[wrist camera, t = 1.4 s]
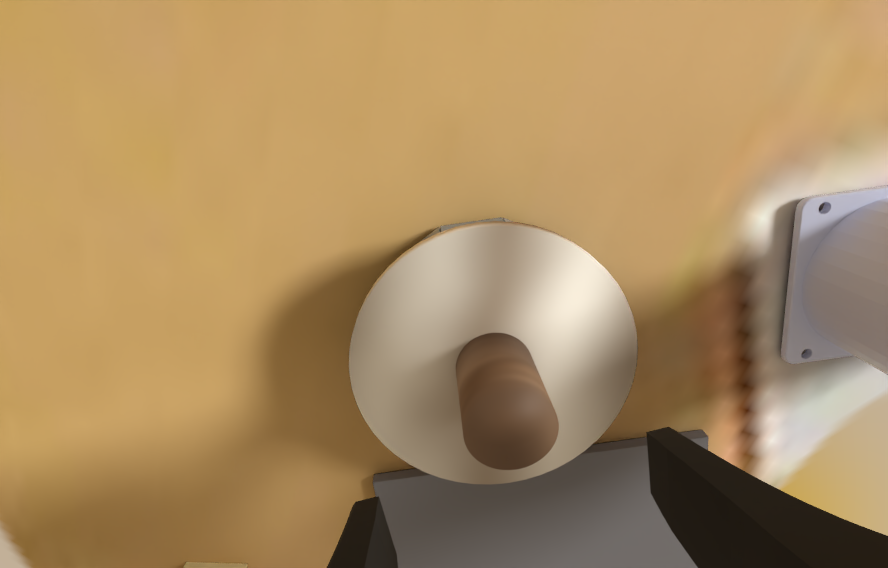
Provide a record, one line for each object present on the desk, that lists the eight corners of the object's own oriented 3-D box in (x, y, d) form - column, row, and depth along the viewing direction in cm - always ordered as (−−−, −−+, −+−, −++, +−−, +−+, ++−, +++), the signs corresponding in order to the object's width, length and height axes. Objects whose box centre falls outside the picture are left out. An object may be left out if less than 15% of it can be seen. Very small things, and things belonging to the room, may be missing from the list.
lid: (628, 201, 18) (696, 231, 14) (631, 453, 22) (685, 543, 17) (324, 243, 18) (291, 288, 14) (379, 487, 22) (367, 585, 17)
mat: (701, 429, 25) (708, 436, 25) (693, 610, 30) (698, 620, 29) (373, 474, 26) (372, 482, 25) (413, 647, 30) (412, 658, 29)
